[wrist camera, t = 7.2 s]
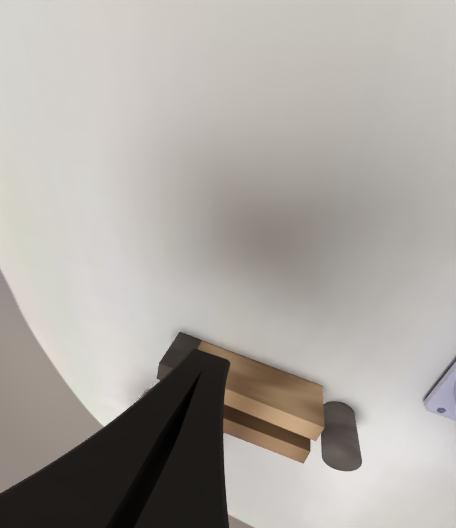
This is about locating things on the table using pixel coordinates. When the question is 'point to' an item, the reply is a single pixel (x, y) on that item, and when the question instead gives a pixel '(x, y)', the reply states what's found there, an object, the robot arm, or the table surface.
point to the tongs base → (297, 446)
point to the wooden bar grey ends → (259, 389)
